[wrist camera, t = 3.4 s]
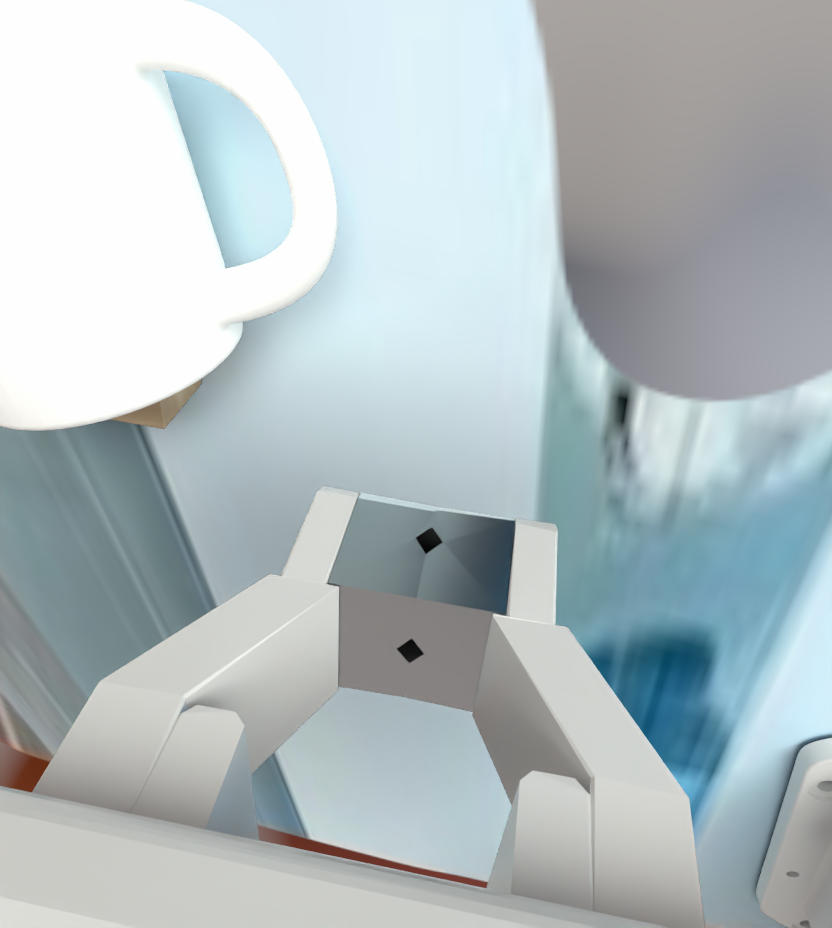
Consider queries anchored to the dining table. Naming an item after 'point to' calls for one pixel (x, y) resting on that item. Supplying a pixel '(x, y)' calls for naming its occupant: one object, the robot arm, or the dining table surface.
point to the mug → (131, 207)
